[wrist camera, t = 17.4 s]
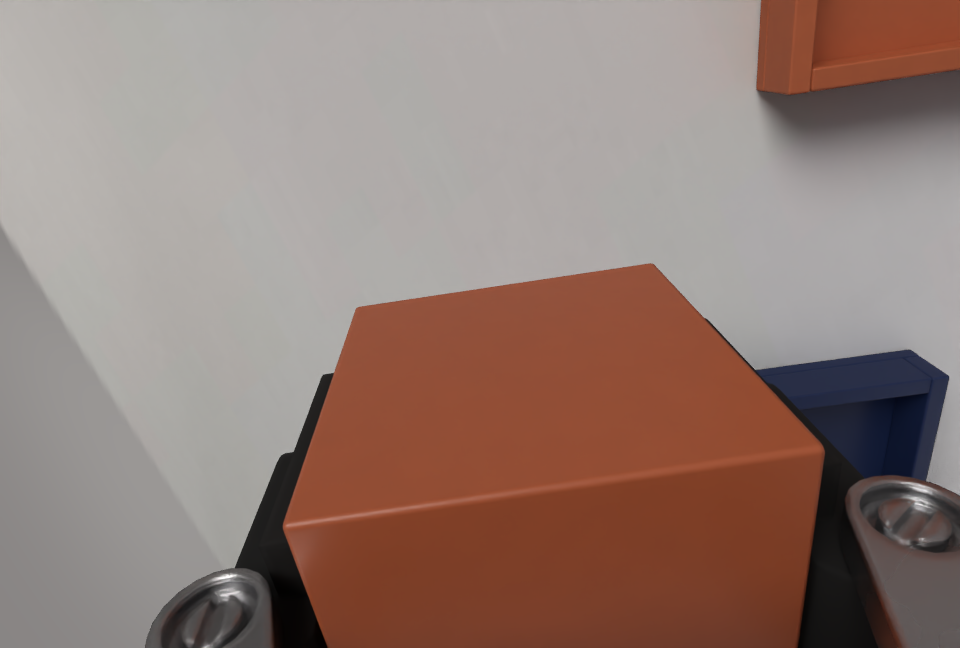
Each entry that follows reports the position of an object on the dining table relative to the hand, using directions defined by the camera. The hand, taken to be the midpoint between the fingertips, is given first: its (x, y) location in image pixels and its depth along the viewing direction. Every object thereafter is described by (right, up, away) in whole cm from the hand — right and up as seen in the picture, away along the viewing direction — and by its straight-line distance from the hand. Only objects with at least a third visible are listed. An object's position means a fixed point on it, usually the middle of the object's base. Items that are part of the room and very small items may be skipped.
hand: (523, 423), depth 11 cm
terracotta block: (0, 0, 0) cm, 0 cm away
